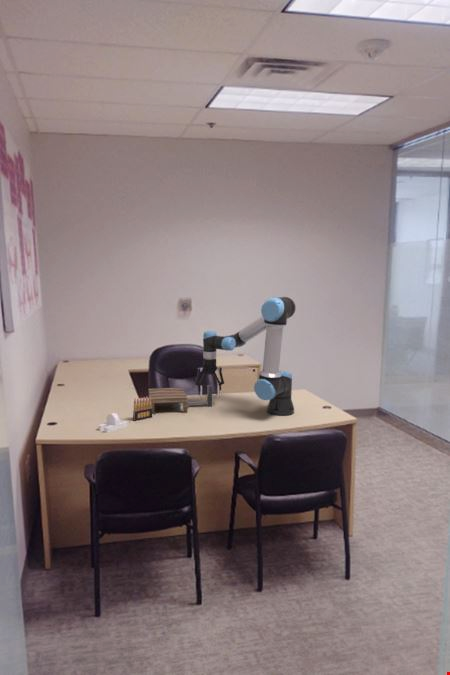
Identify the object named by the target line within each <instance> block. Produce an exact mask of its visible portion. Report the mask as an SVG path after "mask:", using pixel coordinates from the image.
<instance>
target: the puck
mask: <svg viewBox="0 0 450 675" xmlns="http://www.w3.org/2000/svg"><path fill="white" fill-rule="evenodd" d="M181 408H182V405H180V404H174V405H172V409H181Z"/></svg>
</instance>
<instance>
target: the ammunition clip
mask: <svg viewBox="0 0 450 675" xmlns="http://www.w3.org/2000/svg"><path fill="white" fill-rule="evenodd" d="M147 418H148V419H151V418H153V415H152V408H151V397H150V396H149V395H146V397H145V396H143V398H142V397H140V398H139V397H138V398H137V399H136V398H134V399H133V411H132V419H133V421H134V422H138V421H143V420H148V419H147Z"/></svg>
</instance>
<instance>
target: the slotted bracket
mask: <svg viewBox="0 0 450 675" xmlns="http://www.w3.org/2000/svg"><path fill="white" fill-rule="evenodd" d="M124 427H125V428H127V427H128V421H126V420H125V421H122V419H120V417H119V415H118V414H117V413H116V412H111V413H108V414H107V416H106V422H105V423H101V424H98V431H101V430H102V431H103V432H104V433H106V434H107V433H112V432H115V431H118V430H120V428H121V429H124ZM117 429H118V430H117ZM114 430H115V431H114ZM102 431H101V432H102ZM111 431H112V432H111Z"/></svg>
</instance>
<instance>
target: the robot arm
mask: <svg viewBox="0 0 450 675" xmlns="http://www.w3.org/2000/svg"><path fill="white" fill-rule="evenodd" d="M296 307H297V306H296V303H295V301H294V300H293V299H291V298H290V297H287V296H281V297H272V298H268V299H267V300H265V301H264V302H263V304H262V306H261V308H260V310H261V316H260V317H259V318H257V319H255V320H254V321H253V322H251V323H250V324H248V325H246V326H245V327H243V328H242V329H240V330H239V331H238V332H235V333H234V334H231V335H225V336H222V335H217V332H216V331H211V330H209V331H207V330H206V331H204V332H203V336H202V337H203V338H202V341H203V342H202V346H203V347H202V348H203V350H202V353H203V354H202V357H203V359H202V360H203V362H202V363H203V364H202V367H198V368H197V375H196V378H195V381H194V384H195V385H196V386H198V388H197V391H198V392H199V397H200V398H203V386H202V384H203V383H204V381H205V378H206V377H207V376H208V375H212V376H214V378H215V380H216V383H217V384H216V396H217V397H220V391H222V385H225V380H224V377H223V373H222V372H223V369H222V367H221V366H217V350H221V351H233V350H234V349H236V348H240V347H242V346H245V344H247V342H249V341H250V340H252V339H254V338H255V337H257V336H258V335H260V334H261V333H263V332H265V339H264V340H265V341H264V351H263V361H262V368H261V371H260V372H259V373H258V380H256V381H255V383H254V386H253V391H254V393H255V395H256V397H258V399H260V400H262V401H268V404H267V406H266V412H267V413H268V414H270V415H273V416H291V415H293V414H295V406H294V403H293V400H292V392H293V388H292V387H293V375H292V372H289V371H285V370H284V371H283V370H280V361H281V360H280V359H281V352H282V350H281V349H282V343H283V342H282V341H283V333H284V327H286V326H287V323H288V319H290V318H291V317H293V316H294V314H295V313H296ZM202 371H203V373H202ZM217 371H218V375H219V378H218V376H217V374H216V372H217ZM201 373H202V376H201ZM200 377H201V378H200Z"/></svg>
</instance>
